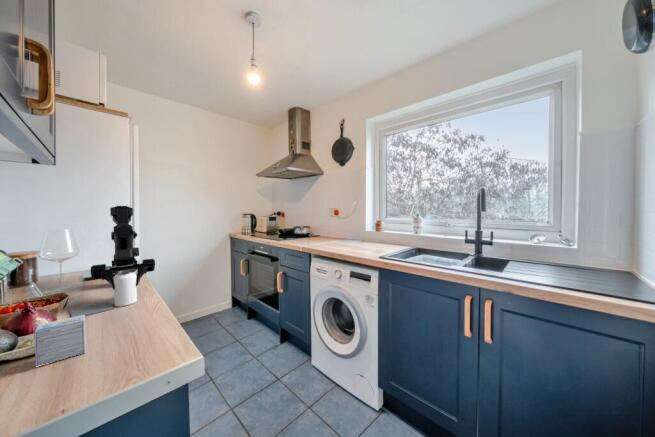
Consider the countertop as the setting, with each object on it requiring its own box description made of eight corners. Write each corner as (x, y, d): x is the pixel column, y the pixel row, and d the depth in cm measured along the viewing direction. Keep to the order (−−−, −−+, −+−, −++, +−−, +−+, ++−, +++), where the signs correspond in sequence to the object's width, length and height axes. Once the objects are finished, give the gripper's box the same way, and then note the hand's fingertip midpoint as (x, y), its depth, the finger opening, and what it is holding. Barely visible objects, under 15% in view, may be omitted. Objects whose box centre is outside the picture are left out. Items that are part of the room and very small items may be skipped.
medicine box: (86, 346, 61) (85, 313, 61) (85, 353, 58) (84, 319, 58) (39, 359, 56) (37, 324, 55) (35, 369, 52) (33, 331, 52)
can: (141, 300, 91) (140, 270, 91) (125, 307, 85) (124, 274, 84) (126, 299, 92) (125, 269, 92) (109, 306, 86) (108, 274, 85)
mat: (69, 310, 82) (69, 309, 82) (108, 302, 90) (108, 301, 90) (72, 319, 76) (72, 318, 76) (113, 309, 84) (113, 308, 83)
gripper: (89, 243, 84) (88, 280, 76) (154, 239, 97) (158, 270, 89) (92, 261, 90) (91, 297, 83) (152, 255, 103) (156, 286, 95)
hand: (125, 287), depth 87 cm, fingers closed on can, 6 cm apart
